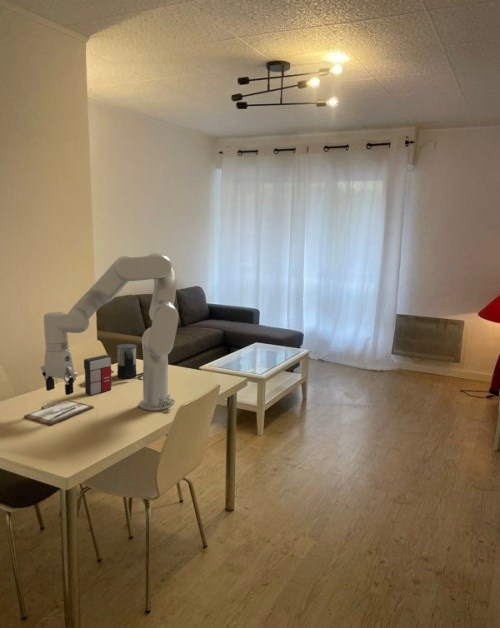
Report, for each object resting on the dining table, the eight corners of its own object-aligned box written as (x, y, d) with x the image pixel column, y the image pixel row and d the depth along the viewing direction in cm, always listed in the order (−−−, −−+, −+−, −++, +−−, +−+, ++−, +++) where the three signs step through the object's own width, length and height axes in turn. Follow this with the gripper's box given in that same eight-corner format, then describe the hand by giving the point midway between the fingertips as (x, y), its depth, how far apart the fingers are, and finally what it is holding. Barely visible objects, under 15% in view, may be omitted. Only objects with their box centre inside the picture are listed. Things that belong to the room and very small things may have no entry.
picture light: (50, 420, 170) (50, 414, 169) (41, 418, 171) (41, 412, 171) (78, 407, 183) (77, 402, 182) (69, 405, 184) (68, 400, 184)
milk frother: (113, 375, 227) (112, 345, 225) (143, 370, 238) (142, 341, 235) (127, 383, 217) (127, 351, 214) (158, 377, 227) (158, 346, 225)
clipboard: (93, 408, 185) (93, 403, 185) (51, 425, 167) (51, 420, 167) (67, 401, 191) (67, 397, 191) (24, 417, 174) (24, 413, 173)
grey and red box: (90, 396, 198) (89, 361, 196) (84, 394, 201) (83, 359, 198) (112, 390, 207) (112, 356, 204) (106, 387, 209) (105, 354, 207)
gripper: (82, 347, 172) (85, 392, 175) (48, 341, 180) (51, 385, 183) (65, 351, 165) (68, 398, 169) (31, 346, 173) (34, 391, 176)
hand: (59, 391), depth 176 cm, fingers open, 9 cm apart
